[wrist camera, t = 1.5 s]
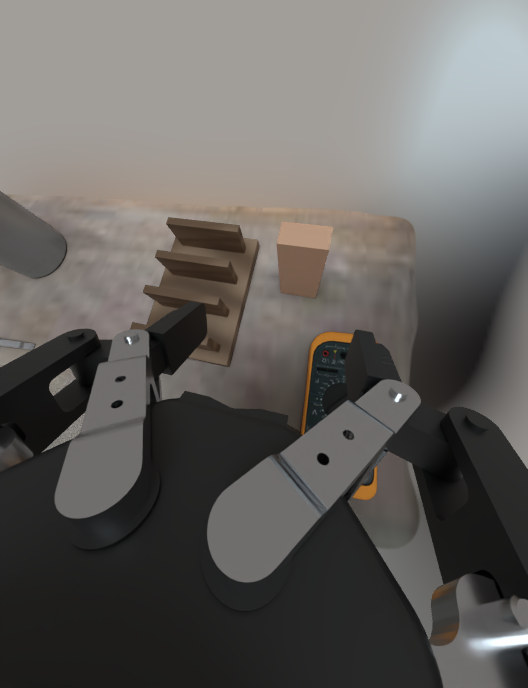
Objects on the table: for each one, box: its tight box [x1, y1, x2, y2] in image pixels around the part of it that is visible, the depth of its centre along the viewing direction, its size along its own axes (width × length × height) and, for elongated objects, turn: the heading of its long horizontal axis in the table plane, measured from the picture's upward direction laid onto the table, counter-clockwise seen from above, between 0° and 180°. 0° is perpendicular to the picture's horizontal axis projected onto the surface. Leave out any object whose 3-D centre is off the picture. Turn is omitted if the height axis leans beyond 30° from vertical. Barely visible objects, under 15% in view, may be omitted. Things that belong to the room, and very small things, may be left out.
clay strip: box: [277, 222, 333, 298], centre depth 27 cm, size 2×5×11 cm, turn 78°
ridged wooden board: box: [130, 217, 259, 367], centre depth 30 cm, size 19×13×6 cm
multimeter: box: [301, 332, 377, 500], centre depth 27 cm, size 9×18×3 cm, turn 172°
